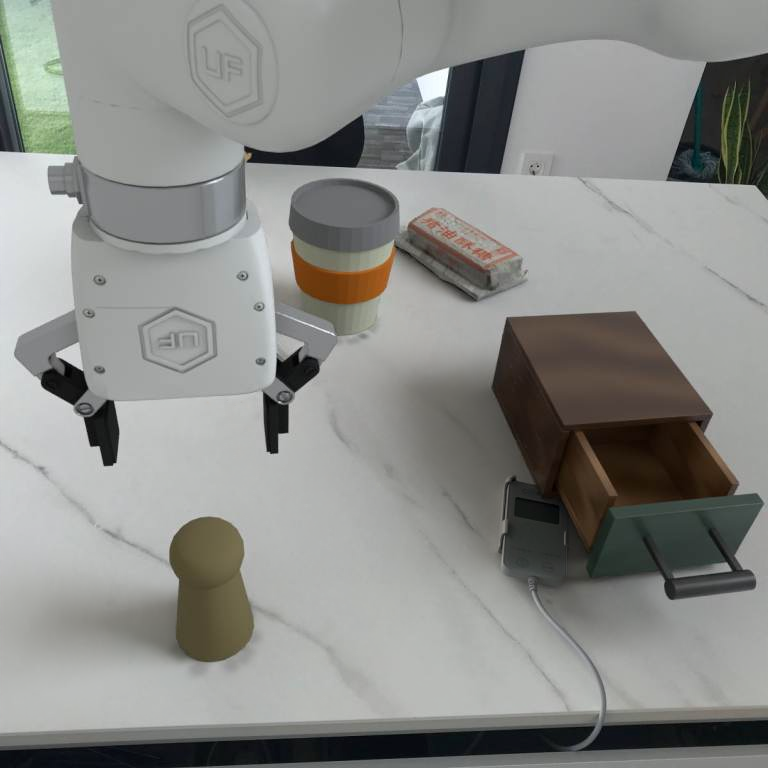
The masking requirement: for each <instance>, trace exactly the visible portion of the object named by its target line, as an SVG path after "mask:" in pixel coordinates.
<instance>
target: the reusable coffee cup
mask: <svg viewBox="0 0 768 768" xmlns="http://www.w3.org/2000/svg"><path fill="white" fill-rule="evenodd" d="M288 215H289V216H288V227H289V230H290V231H291V233H292V240H291V241H290V242H291V243H290V252H291V258H292V265H293V272H294V280H295V282H296V285H297V287H298V288H299V291H300V298H301V304H302V311H304V312H306V313H309V314H311V315H314V316H316V317H319V318H322V319H324V320H327V321H329V322H331V323H333V324H334V326H335V329H336V334H337V336H346V335H347V336H348V335H356V334H359V333H362V332H365V331H366V330H368V329H369V328H371V327H372V326H373V325H374V324H375V322H376V319H377V315H378V311H379V308H380V303H381V298H382V294H383V293H384V292H385V290H386V289H387V287H388V283H389V279H390V275H391V270H392V267H393V264H394V263H393V262H394V258H395V254H396V248H395V247H396V245H394V239H395V238H396V236H397V235H398V234H399V233H400V230H401V225H400V224H401V223H400V221H401V220H400V219H401V218H400V217H401V216H400V202H399V200H398V198H397V196H396V195H395V194H394V193H393V192H392V191H390V190H389V189H387V188H385V187H384V186H381V185H379V184H376V183H373V182H371V181H367V180H363V179H357V178H350V177H349V178H347V177H330V178H329V177H328V178H323V179H322V178H321V179H317V180H313V181H310V182H307V183H305V184H303V185H301V186H299V187H297V189H295V190H294V191H293V192H292V195H291V198H290V207H289V214H288Z"/></svg>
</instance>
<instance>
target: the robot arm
mask: <svg viewBox="0 0 768 768" xmlns="http://www.w3.org/2000/svg"><path fill="white" fill-rule="evenodd" d="M49 3H50V10H51V15H52V21H53V25H54V31H55V32H54V33H55V37H56V38H55V39H56V43H57V49H58V55H59V60H60V66H61V71H62V75H63V76H62V77H63V82H64V88H65V94H66V99H67V100H66V101H67V105H68V110H69V116H70V122H71V127H72V128H71V129H72V133H73V138H74V144H75V149H76V150H75V151H76V155H73V159H72V162H65V163H64V165H48V166H47V184H48V189H49V192H50V194H51V195H52V196H67V197H68V198H76V201H77V203H78V205H82V206H80V208H79V210H78V211H77V213H76V216H75V218H74V220H73V221H72V225H71V237H70V270H71V284H72V296H73V304H74V309H72V310H70V311H68V312H66V313H64V314H61V315H60V316H58V317H55V318H54V319H52V320H49V321H47V322H45V323H42V324H41V325H38V326H37V327H35V328H33V329H31V330H29V331H26V332H24V333H23V334H20V335H19V336H18V337H17V340H16V344H15V347H14V351H13V356H14V358H15V359H16V360H17V361H18V363H20V365H22V366H23V367H24V368H25V369H26V370H27V371H28V372H29V373H30V374H31V375H32V376H33V377H36V378H37V379H38V380H39V381H40V386H41V388H42V389H44V390H45V391H47V392H48V393H50V394H52V395H54V396H55V397H57V398H59V399H61V401H64V402H66V403H67V404H70V405H71V406H73V407H72V409H73V413H75V415H77V416H78V417H82V418H83V421H84V426H85V430H86V431H85V432H86V435H87V441H88V444H89V447H90V448H95V447H96V448H97V447H98V448H99V453H100V457H101V461H102V465H103V467H113V466H114V464H117V463H118V456H119V455H118V453H119V443H120V431H121V430H120V425H119V420H118V414H117V410H116V404H115V402H139V401H140V402H141V401H158V400H159V401H160V400H175V399H177V400H178V399H193V398H208V397H210V398H211V397H225V396H226V397H227V396H239V395H240V396H241V395H247V394H248V395H249V394H253V393H256V392H260V391H262V408H263V409H262V413H263V414H262V415H263V417H262V418H263V430H264V439H265V440H264V441H265V449H266V453H269V454H270V455H276V454H279V435H281V434H283V435H284V434H289V432H290V431H289V430H290V425H289V424H290V404H292V403H293V402H294V400H295V399H296V395H295V393H297V392H298V391H299V390H300V389H302V388H303V387H304V386H306V385H307V384H308V383H309V382H310V381H312V380H313V379H314V378H316V376H318V374H319V373H320V370H321V366H322V364H323V363H324V362H326V360H327V359H328V357H329V356H330V354H331V353H332V351H333V350H334V348H335V347H336V345H337V344H338V340H339V338H338V335H337V334H336V329H335V326H334V324H333V323H331V322H329V321H327V320H324V319H322V318H319V317H316V316H314V315H311V314H309V313H306V312H304V311H303V310H301V309H298V308H297V307H293V306H291V305H288V304H286V303H283V302H281V301H278V300H275V297H274V296H275V295H274V283H273V273H272V265H271V259H270V258H271V257H270V252H269V247H268V242H267V237H266V232H265V229H264V225H263V222H262V218H261V216H260V213H259V210H258V208H257V206H256V205H255V203H254V202H253V201H251V200H250V199H249V198H247V190H246V164H245V157H244V151H245V147H247V148H250V149H253V150H257V151H261V152H269V153H292V152H293V153H294V152H297V151H301V150H304V149H308V148H310V147H313V146H315V145H318V144H319V143H321V142H323V141H325V140H327V139H328V138H329V137H332V136H333V135H334V134H336V133H337V132H339V131H340V130H342V129H343V128H345V127H346V126H348V125H349V124H350V123H352V122H353V121H355V120H356V119H358V118H359V117H361V116H362V115H364V114H365V113H366V112H368V111H369V110H371V109H372V108H373V107H375V106H376V105H378V104H379V103H380V102H382V101H383V100H384V99H386V98H388V97H389V96H391V95H392V94H394V93H395V92H397V91H399V90H400V89H402V88H403V87H405V86H406V85H408V84H410V83H412V82H413V81H415V80H417V79H419V78H421V77H423V76H426V75H429V74H432V73H435V72H438V71H442V70H446V69H449V68H453V67H457V66H461V65H464V64H469V63H473V62H476V61H481V60H485V59H489V58H493V57H498V56H503V55H506V54H510V53H515V52H520V51H523V50H529V49H534V48H539V47H543V46H548V45H554V44H561V43H568V42H569V43H570V42H575V41H591V40H592V41H593V40H597V41H598V40H600V41H601V40H602V41H603V40H604V41H605V40H606V41H607V40H608V41H618V42H624V43H628V44H632V45H636V46H638V47H640V48H643V49H646V50H648V51H650V52H653V53H655V54H657V55H660V56H662V57H666V58H670V59H674V60H679V61H690V62H703V63H704V62H705V63H718V62H719V63H720V62H728V61H729V62H730V61H734V60H739V59H740V60H741V59H746V58H750V57H755V56H760V55H765V54H768V0H49ZM277 333H278V334H280V335H283V336H286V337H289V338H291V339H293V340H297V341H299V342H302V343H303V345H301V346H300V347H299V348H297V350H295V351H293V353H292V354H290V355H289V356H288V357H287V358H286V359H284V358H283V357H282V356H281V355H279V354H278V352H277ZM77 343H78V344H79V345H78V346H79V352H80V359H81V364H82V365H81V366H82V369H81V368H79V367H77V366H75V365H74V364H72V363H70V362H68V361H67V360H65V359H64V358H61V357H57V354H56V353H58V352H60V351H63V350H65V349H67V348H69V347H71V346H73V345H76V344H77Z"/></svg>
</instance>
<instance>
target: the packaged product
mask: <svg viewBox="0 0 768 768" xmlns="http://www.w3.org/2000/svg"><path fill="white" fill-rule="evenodd" d="M394 246H395V247H398V248H400V249H401V250H404V251H405V252H407V253H409V254H410V256H412V257H413V258H414V259H415V260H417V261H418V262H420V263H421V264H423V265H424V266H425V267H427V268H428V269H429V270H430V271H432V272H433V273H434V274H435V275H436V276H437V277H438V278H439V279H440V280H443V281H446V282H447V283H450V284H453V285H454V286H455V287H458V288H460V290H462V291H464V292H465V293H466V294H467V295H469V296H470V297H471V298H473V299H475V300H476V301H478V302H479V301H481V300H483V299H486V298H489V297H490V296H494V295H497V294H498V293H501V292H503V291H506V290H508V289H511V288H513V287H515V286H518V285H521V284H523V283H526V282H528V279H529V269H524V268H523V267H522V265H523V259H524V257H522V255H520V254H519V253H517V252H515V250H512V249H511V248H509V247H507V246H506V245H505V244H502V242H499V241H498V240H495V239H494V238H493V237H491V236H490V235H488V234H487V233H485V232H483V231H481V230H479V229H478V228H477V227H475V226H473V225H471V224H470V223H468V222H466V221H465V220H463V219H462V218H459V217H458V216H456V215H454V214H453V213H451V212H450V211H448V210H446V208H443V207H431V208H428V209H427V210H426V211H424V212H423V213H421V214H420V215H418V216H416V217H414V218H413V219H412V220H410V221H409V222H408V224H407V230H405V231H402V232H399V233H398V235H397V236H396V238H395V239H394Z"/></svg>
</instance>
